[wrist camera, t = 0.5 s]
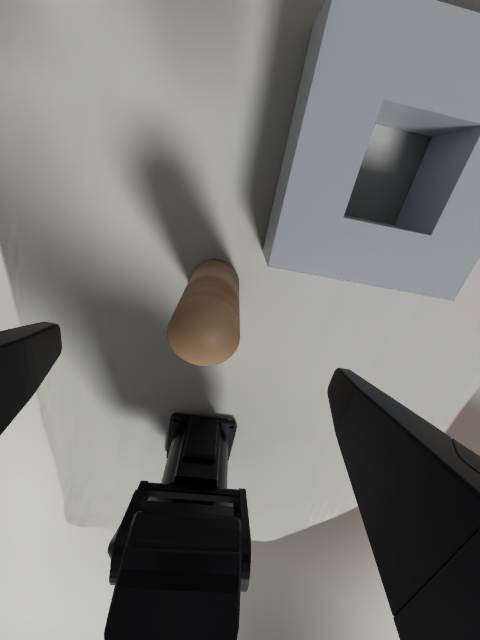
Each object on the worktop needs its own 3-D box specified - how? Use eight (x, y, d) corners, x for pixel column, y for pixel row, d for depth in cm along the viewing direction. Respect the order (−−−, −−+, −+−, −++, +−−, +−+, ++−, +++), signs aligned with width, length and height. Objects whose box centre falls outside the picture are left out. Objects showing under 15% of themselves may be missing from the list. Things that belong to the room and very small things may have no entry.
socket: (416, 280, 21) (453, 300, 17) (262, 251, 20) (268, 266, 16) (517, 79, 15) (601, 48, 12) (313, 24, 14) (338, -29, 11)
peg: (234, 308, 22) (233, 370, 14) (189, 300, 21) (164, 360, 14) (242, 264, 20) (246, 309, 13) (194, 255, 20) (169, 297, 13)
